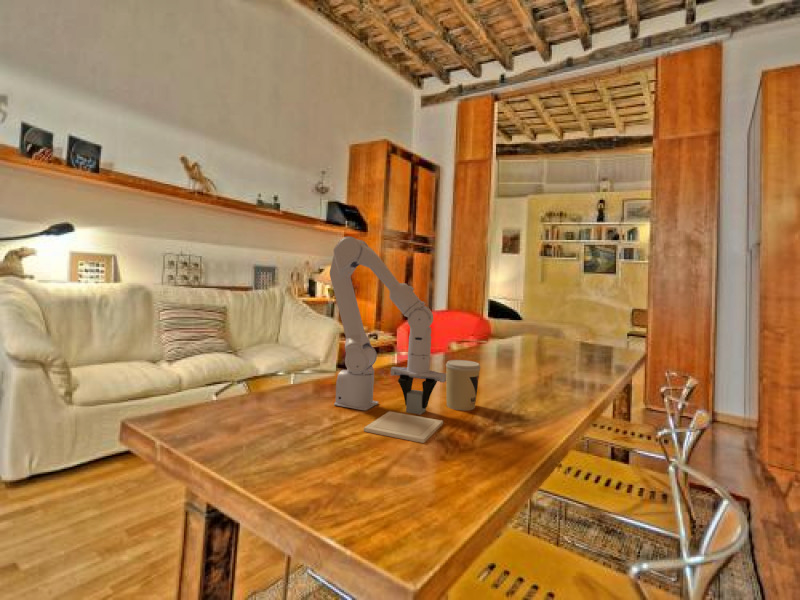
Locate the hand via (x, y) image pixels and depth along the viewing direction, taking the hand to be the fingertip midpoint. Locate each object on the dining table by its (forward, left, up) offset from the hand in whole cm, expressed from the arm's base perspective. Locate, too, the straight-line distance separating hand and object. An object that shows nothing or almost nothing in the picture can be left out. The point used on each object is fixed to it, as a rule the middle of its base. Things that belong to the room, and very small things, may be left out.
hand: (416, 406), depth 114 cm
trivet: (+2, -13, -1) cm, 13 cm away
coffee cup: (+9, +11, -2) cm, 14 cm away
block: (0, 0, -1) cm, 1 cm away
